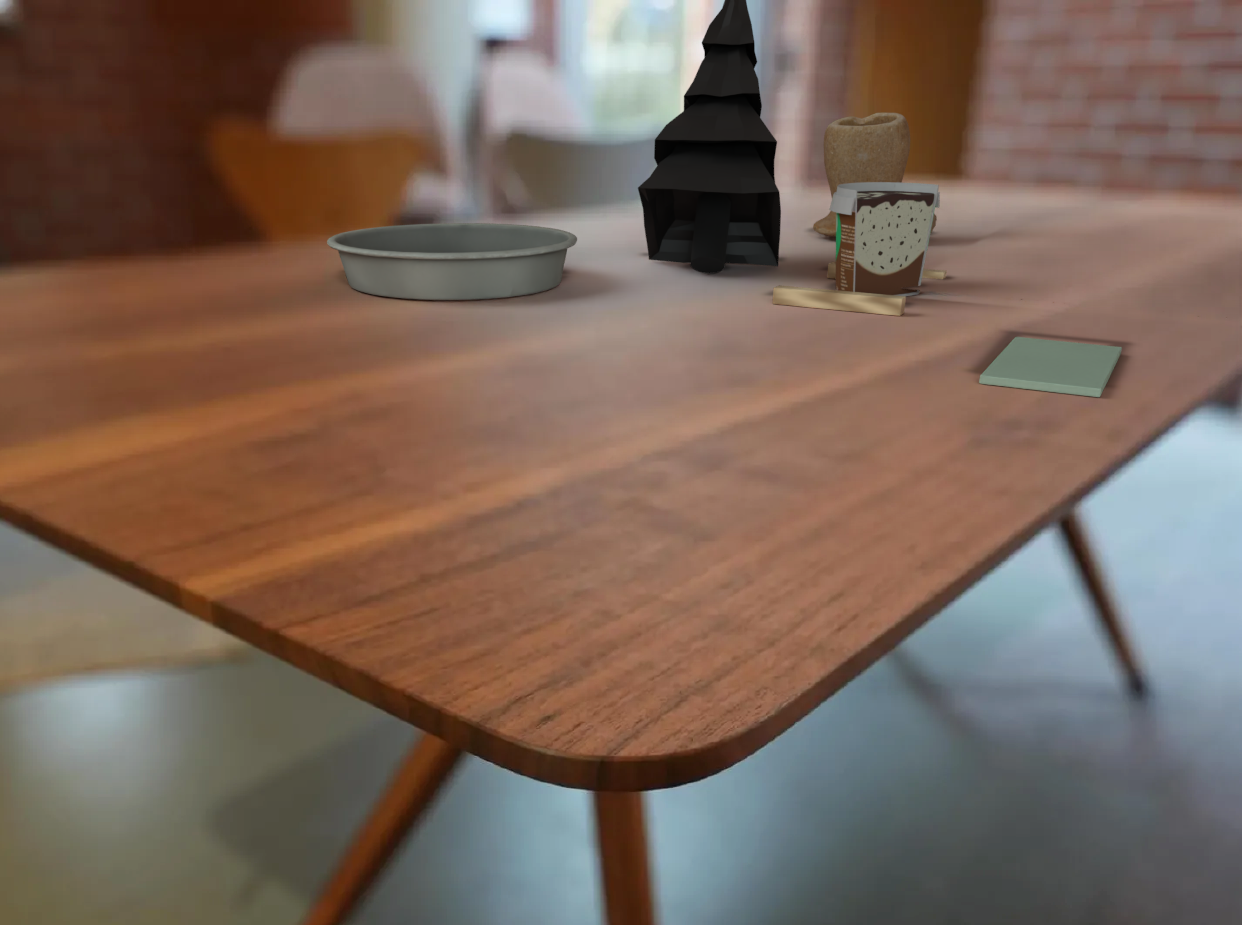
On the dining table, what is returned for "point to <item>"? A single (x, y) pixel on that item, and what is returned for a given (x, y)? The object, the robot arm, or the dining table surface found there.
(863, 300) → the rack
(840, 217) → the food container
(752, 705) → the dining table surface
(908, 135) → the stone cup
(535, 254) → the cake pan
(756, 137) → the decorative tree
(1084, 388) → the mat
